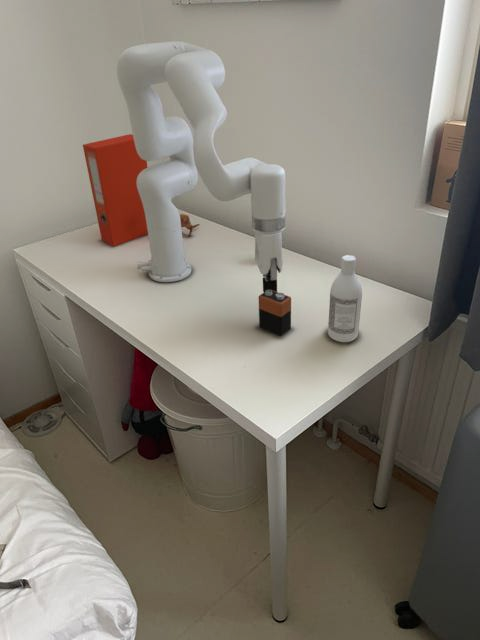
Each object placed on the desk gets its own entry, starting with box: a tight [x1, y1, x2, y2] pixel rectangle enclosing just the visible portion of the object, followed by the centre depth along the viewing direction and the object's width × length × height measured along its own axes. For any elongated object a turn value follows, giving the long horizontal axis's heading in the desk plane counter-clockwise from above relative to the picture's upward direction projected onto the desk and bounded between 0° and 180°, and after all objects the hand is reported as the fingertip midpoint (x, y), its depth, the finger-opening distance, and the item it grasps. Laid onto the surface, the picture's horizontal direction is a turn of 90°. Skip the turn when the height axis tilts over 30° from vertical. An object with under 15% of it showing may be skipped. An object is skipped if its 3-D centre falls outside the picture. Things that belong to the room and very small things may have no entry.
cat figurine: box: [179, 213, 200, 237], centre depth 168 cm, size 18×7×14 cm, turn 141°
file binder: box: [82, 133, 149, 247], centre depth 166 cm, size 8×17×32 cm, turn 133°
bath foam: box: [327, 254, 363, 343], centre depth 112 cm, size 7×7×20 cm
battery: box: [257, 289, 292, 337], centre depth 119 cm, size 4×7×10 cm, turn 50°
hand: (270, 292), depth 123 cm, fingers closed
